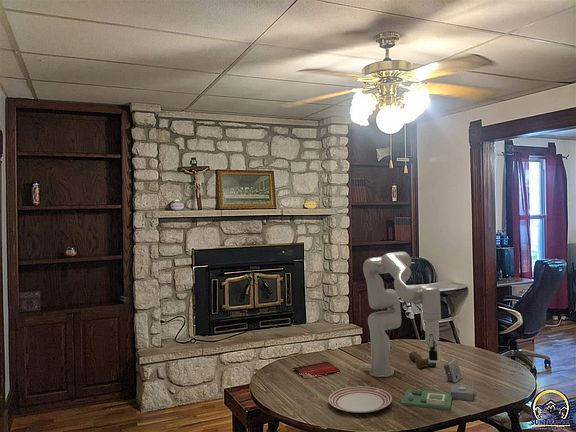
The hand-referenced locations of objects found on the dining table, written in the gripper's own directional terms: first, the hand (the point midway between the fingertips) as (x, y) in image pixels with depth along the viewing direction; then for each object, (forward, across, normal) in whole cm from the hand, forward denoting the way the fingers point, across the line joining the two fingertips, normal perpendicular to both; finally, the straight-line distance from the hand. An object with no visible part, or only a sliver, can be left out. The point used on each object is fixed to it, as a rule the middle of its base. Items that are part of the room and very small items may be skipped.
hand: (433, 358), depth 210 cm
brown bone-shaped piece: (+20, -50, -12) cm, 55 cm away
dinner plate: (+20, +9, -31) cm, 38 cm away
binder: (+20, -27, -63) cm, 71 cm away
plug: (+1, 0, 0) cm, 1 cm away
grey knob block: (+20, -12, +10) cm, 25 cm away
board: (+20, -3, -4) cm, 20 cm away
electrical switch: (+20, -32, +5) cm, 38 cm away
